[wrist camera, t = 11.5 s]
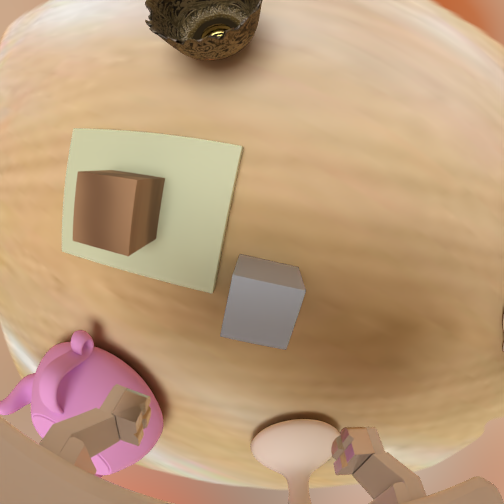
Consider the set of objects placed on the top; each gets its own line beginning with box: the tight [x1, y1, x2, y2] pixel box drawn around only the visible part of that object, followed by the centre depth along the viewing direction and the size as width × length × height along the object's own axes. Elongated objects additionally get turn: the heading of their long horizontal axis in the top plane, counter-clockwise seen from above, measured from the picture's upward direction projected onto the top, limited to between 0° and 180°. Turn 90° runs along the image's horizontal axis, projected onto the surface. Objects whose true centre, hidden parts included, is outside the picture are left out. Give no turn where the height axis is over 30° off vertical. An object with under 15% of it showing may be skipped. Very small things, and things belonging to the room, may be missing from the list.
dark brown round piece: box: [145, 0, 262, 60], centre depth 14 cm, size 8×7×8 cm
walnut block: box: [73, 170, 165, 256], centre depth 19 cm, size 5×5×5 cm
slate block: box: [220, 254, 306, 350], centre depth 21 cm, size 5×5×5 cm
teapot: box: [0, 330, 163, 478], centre depth 22 cm, size 22×22×14 cm
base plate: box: [62, 128, 243, 293], centre depth 22 cm, size 16×12×1 cm
